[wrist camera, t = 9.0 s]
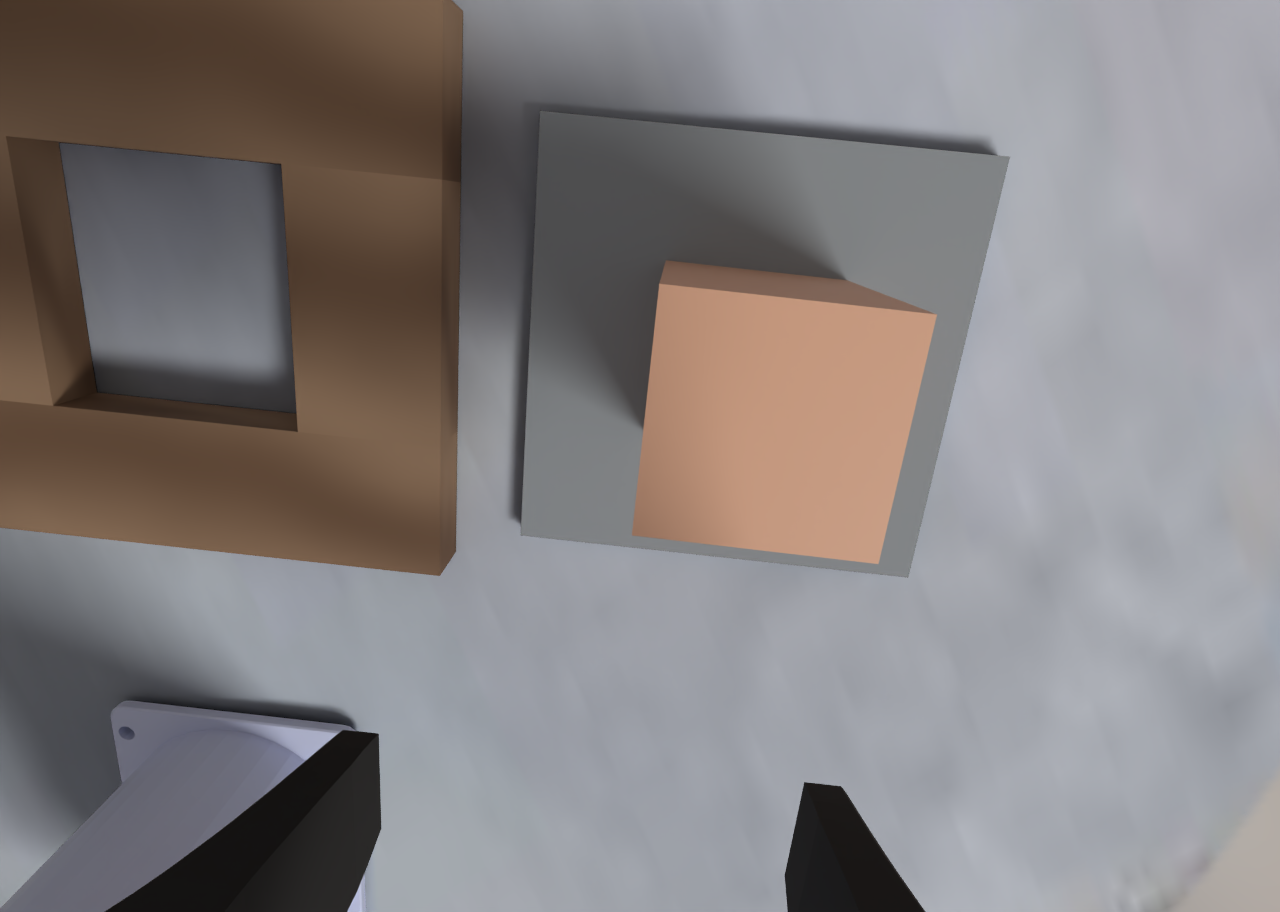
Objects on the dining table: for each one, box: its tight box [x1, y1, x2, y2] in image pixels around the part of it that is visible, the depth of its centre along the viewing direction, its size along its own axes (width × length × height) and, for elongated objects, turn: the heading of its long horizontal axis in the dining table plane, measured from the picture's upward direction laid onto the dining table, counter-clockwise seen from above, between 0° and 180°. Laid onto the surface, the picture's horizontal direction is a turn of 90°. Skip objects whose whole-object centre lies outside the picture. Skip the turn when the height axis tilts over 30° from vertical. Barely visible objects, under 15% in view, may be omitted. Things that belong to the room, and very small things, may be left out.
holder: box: [0, 0, 463, 576], centre depth 18 cm, size 14×14×2 cm
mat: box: [521, 111, 1010, 577], centre depth 19 cm, size 11×11×1 cm
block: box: [632, 260, 937, 564], centre depth 15 cm, size 4×4×6 cm
